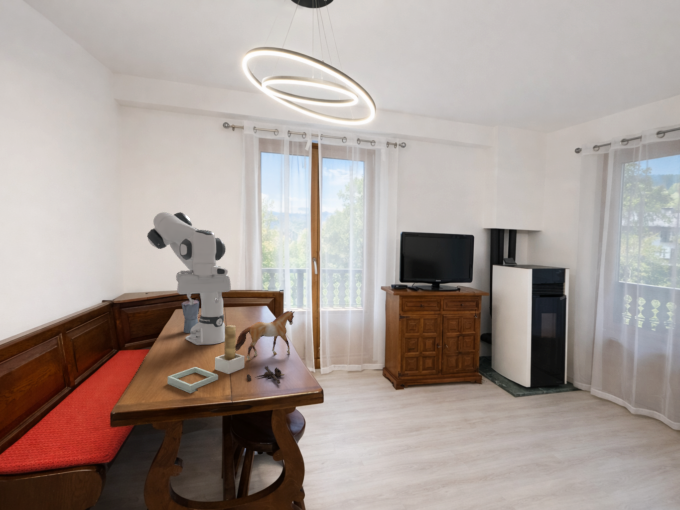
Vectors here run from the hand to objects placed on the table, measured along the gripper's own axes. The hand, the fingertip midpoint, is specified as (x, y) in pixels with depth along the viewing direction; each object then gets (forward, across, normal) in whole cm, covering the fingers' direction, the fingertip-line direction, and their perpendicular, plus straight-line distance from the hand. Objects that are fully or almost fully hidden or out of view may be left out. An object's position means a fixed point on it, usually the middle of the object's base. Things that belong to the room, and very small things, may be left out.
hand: (204, 303), depth 137 cm
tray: (+29, -5, -8) cm, 30 cm away
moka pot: (+29, -1, +69) cm, 75 cm away
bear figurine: (+30, +22, -15) cm, 40 cm away
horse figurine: (+30, +28, +12) cm, 42 cm away
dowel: (+28, +10, -1) cm, 30 cm away
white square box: (+29, +10, -1) cm, 31 cm away
